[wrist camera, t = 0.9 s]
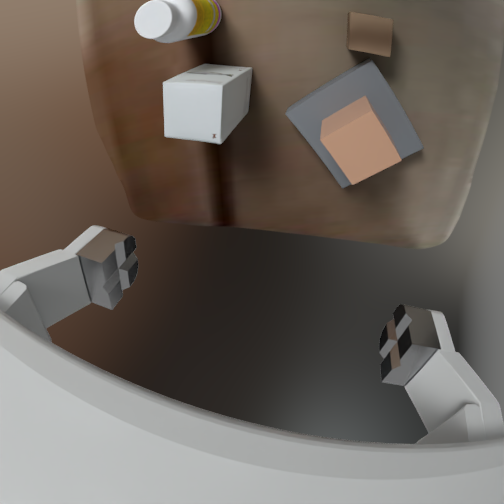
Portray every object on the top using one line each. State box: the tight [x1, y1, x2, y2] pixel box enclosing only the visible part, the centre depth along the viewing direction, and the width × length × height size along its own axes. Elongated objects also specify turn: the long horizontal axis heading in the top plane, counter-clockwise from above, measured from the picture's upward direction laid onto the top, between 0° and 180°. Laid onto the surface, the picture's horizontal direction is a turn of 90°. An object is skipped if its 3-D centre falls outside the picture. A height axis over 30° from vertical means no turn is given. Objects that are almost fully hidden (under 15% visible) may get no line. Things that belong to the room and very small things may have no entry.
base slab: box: [286, 58, 424, 188], centre depth 37 cm, size 14×14×3 cm
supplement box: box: [163, 64, 252, 144], centre depth 34 cm, size 7×7×13 cm
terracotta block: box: [320, 95, 402, 185], centre depth 33 cm, size 7×7×7 cm
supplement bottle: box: [134, 0, 221, 43], centre depth 27 cm, size 7×7×13 cm
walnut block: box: [346, 12, 393, 57], centre depth 27 cm, size 5×5×5 cm
